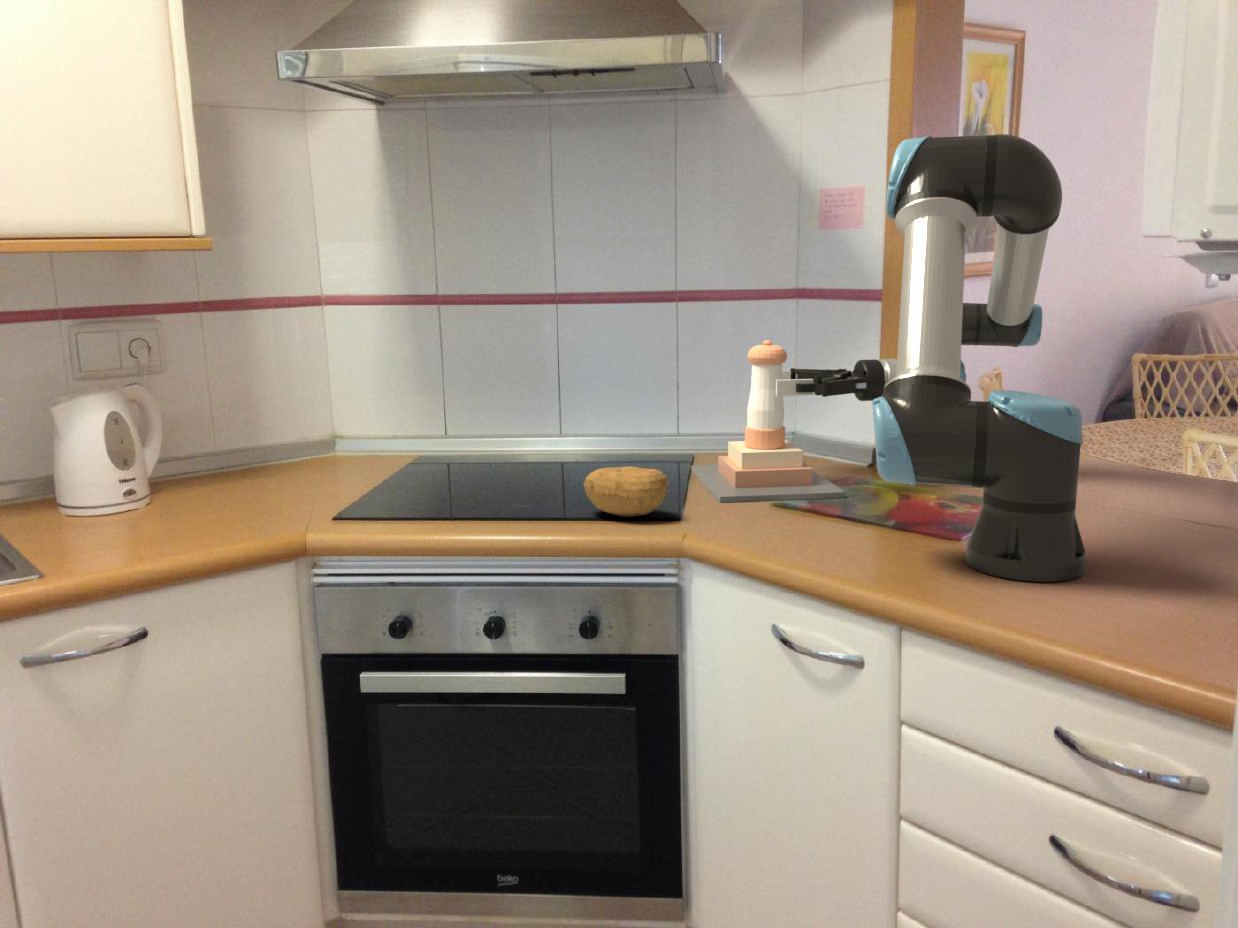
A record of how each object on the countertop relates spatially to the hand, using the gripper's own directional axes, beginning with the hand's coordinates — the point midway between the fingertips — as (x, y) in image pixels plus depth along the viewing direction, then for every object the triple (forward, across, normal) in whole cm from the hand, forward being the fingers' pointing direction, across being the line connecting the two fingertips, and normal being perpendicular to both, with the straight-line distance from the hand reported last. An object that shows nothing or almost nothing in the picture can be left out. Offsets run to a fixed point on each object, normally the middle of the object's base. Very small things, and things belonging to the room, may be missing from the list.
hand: (765, 382), depth 187 cm
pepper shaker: (0, 0, -12) cm, 12 cm away
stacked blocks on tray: (0, 0, -19) cm, 19 cm away
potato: (+28, -19, -19) cm, 39 cm away
